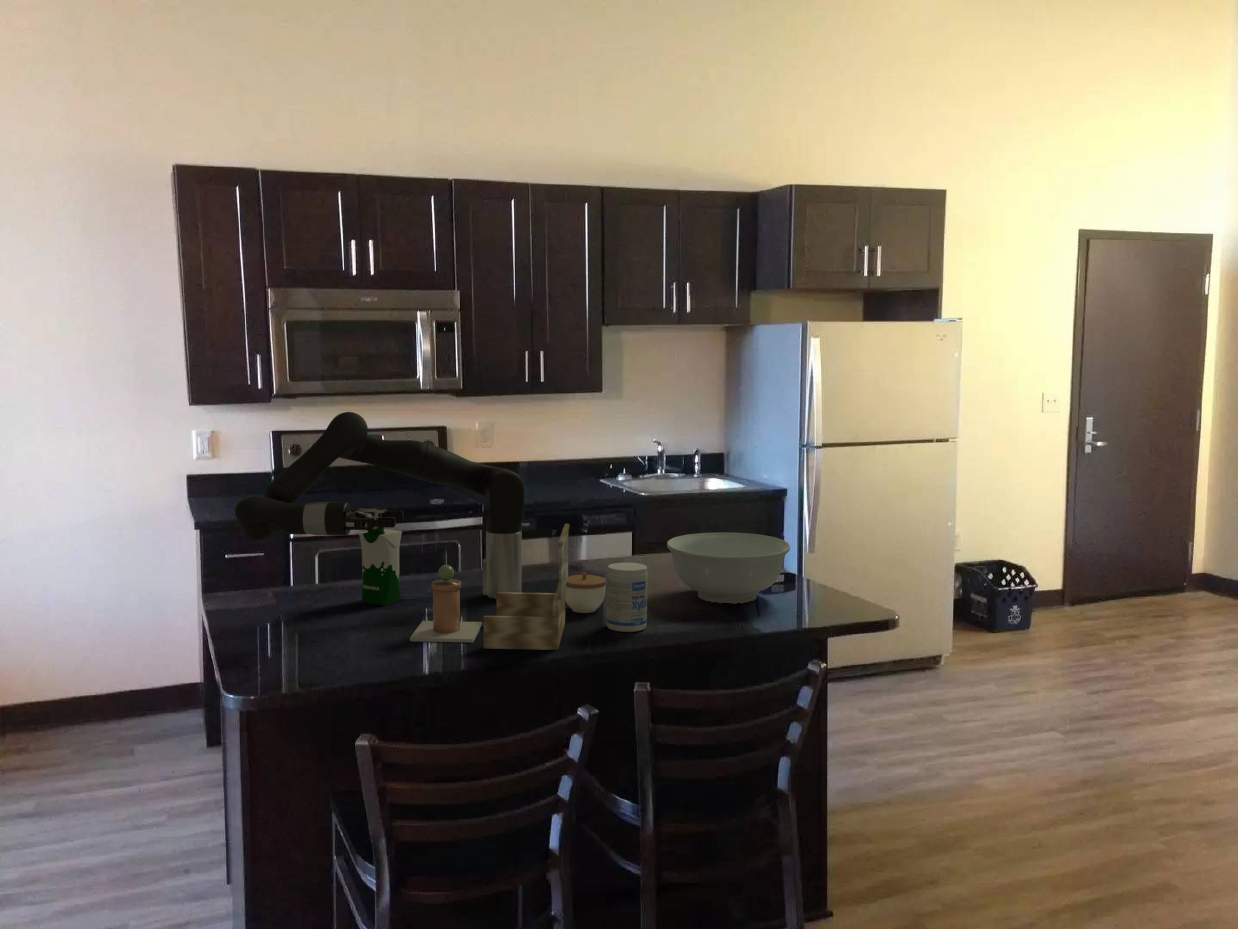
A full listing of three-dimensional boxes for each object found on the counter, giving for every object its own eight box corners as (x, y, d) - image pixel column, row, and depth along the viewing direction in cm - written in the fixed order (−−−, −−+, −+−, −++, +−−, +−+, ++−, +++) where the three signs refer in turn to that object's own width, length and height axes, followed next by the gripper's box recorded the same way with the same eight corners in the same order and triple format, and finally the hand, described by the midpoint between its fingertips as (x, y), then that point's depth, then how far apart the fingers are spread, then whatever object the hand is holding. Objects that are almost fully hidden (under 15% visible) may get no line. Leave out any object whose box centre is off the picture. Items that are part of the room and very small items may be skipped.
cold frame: (483, 648, 230) (483, 540, 227) (497, 620, 252) (497, 522, 250) (561, 650, 230) (562, 542, 227) (568, 622, 252) (569, 523, 249)
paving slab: (409, 641, 235) (409, 637, 235) (422, 624, 249) (422, 620, 248) (472, 642, 234) (472, 639, 234) (482, 625, 248) (482, 622, 248)
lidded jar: (600, 616, 258) (600, 579, 256) (557, 613, 260) (558, 576, 259) (609, 606, 268) (610, 569, 267) (568, 603, 270) (568, 567, 269)
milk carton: (356, 603, 267) (355, 525, 264) (378, 595, 275) (378, 519, 273) (384, 607, 263) (383, 528, 261) (406, 599, 271) (406, 522, 269)
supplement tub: (640, 635, 242) (641, 572, 241) (600, 631, 245) (601, 568, 243) (651, 624, 252) (652, 563, 250) (613, 620, 254) (614, 560, 253)
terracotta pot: (425, 630, 240) (425, 565, 239) (445, 624, 246) (444, 560, 244) (448, 635, 237) (447, 569, 235) (467, 628, 243) (466, 564, 241)
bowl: (647, 604, 270) (648, 548, 268) (687, 578, 300) (689, 527, 298) (771, 619, 258) (773, 560, 256) (800, 590, 288) (802, 537, 286)
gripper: (317, 507, 231) (392, 507, 231) (335, 497, 245) (405, 497, 245) (318, 541, 232) (392, 541, 232) (336, 529, 246) (406, 529, 246)
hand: (399, 519), depth 238 cm, fingers open, 8 cm apart
